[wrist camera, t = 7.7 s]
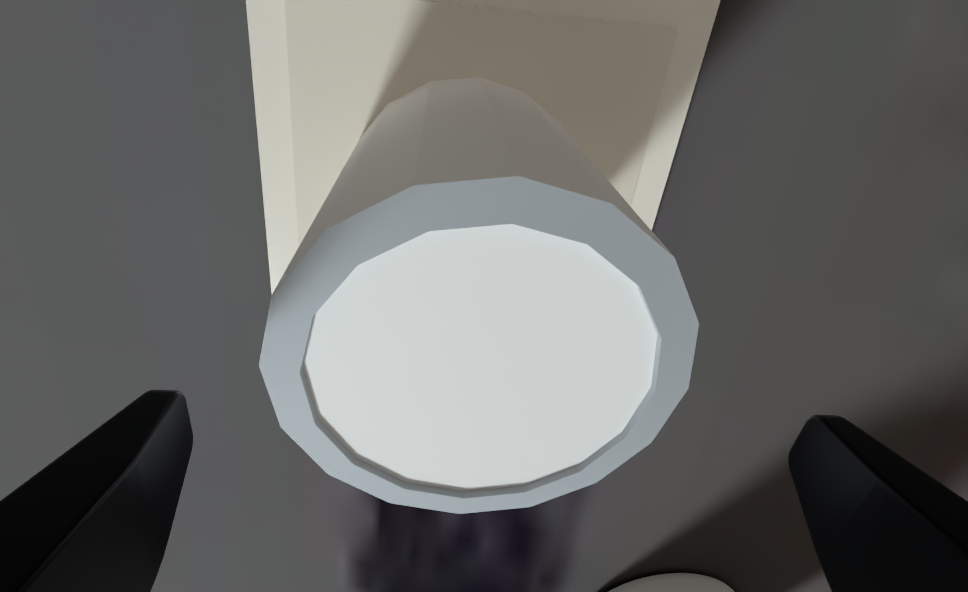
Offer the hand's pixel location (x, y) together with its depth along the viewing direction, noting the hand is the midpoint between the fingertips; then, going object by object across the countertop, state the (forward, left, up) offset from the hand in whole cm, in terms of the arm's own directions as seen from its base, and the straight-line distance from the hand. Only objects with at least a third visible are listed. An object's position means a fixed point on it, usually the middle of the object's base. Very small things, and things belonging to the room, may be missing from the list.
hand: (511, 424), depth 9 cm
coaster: (0, 0, -9) cm, 9 cm away
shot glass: (0, 0, -8) cm, 8 cm away
